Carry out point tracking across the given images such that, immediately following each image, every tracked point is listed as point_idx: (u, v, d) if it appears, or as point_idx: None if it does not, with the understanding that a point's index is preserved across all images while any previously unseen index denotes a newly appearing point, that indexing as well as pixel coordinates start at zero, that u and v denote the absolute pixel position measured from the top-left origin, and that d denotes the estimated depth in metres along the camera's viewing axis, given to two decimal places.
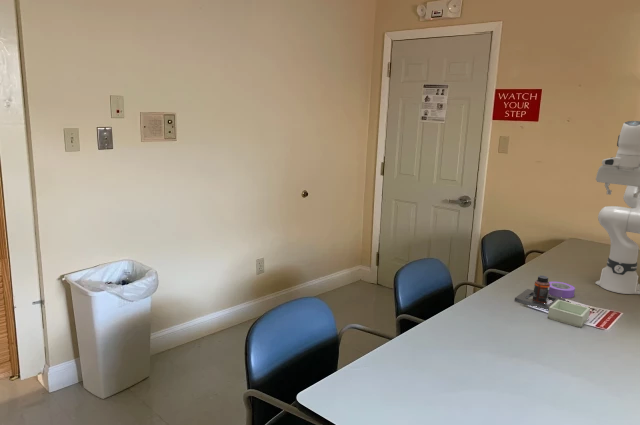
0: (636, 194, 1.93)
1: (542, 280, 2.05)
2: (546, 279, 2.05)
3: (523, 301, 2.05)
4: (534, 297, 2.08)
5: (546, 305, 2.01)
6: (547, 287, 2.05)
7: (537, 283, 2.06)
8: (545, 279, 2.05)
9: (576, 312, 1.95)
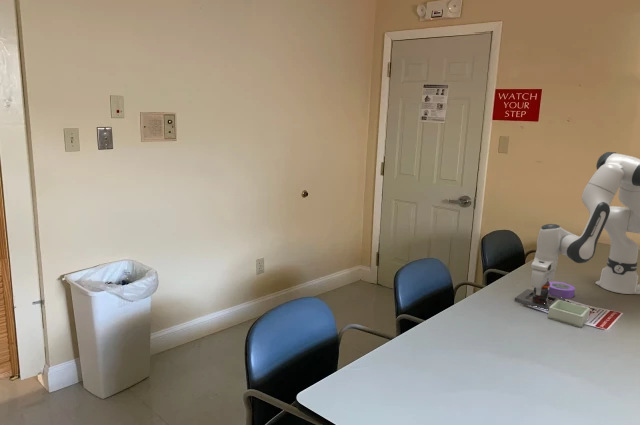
0: None
1: None
2: None
3: (523, 301, 2.05)
4: (534, 297, 2.08)
5: (546, 305, 2.01)
6: (547, 287, 2.05)
7: None
8: None
9: (576, 312, 1.95)
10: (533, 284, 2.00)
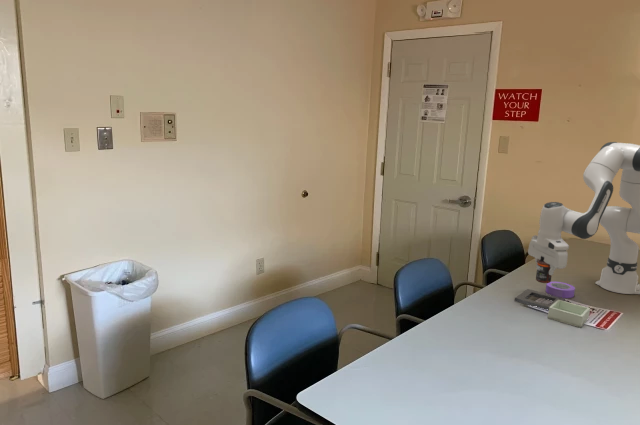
0: None
1: None
2: None
3: (523, 301, 2.05)
4: (543, 278, 2.05)
5: (546, 305, 2.01)
6: None
7: (546, 264, 2.03)
8: None
9: (576, 312, 1.95)
10: (561, 266, 1.96)
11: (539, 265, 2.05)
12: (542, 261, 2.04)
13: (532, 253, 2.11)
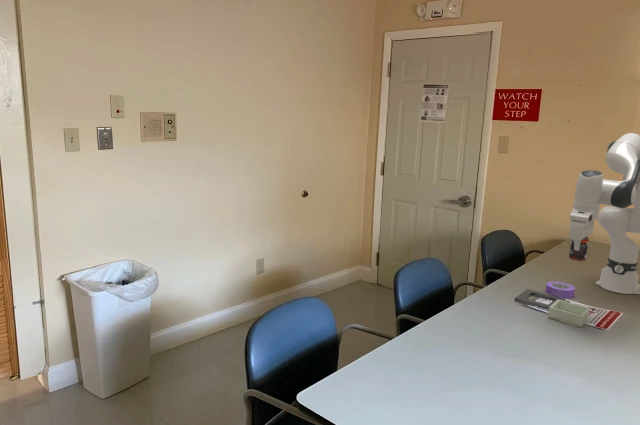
0: None
1: None
2: None
3: (523, 301, 2.05)
4: (571, 254, 1.87)
5: (546, 305, 2.01)
6: (586, 242, 1.84)
7: None
8: None
9: (576, 312, 1.95)
10: (572, 237, 1.79)
11: None
12: None
13: None
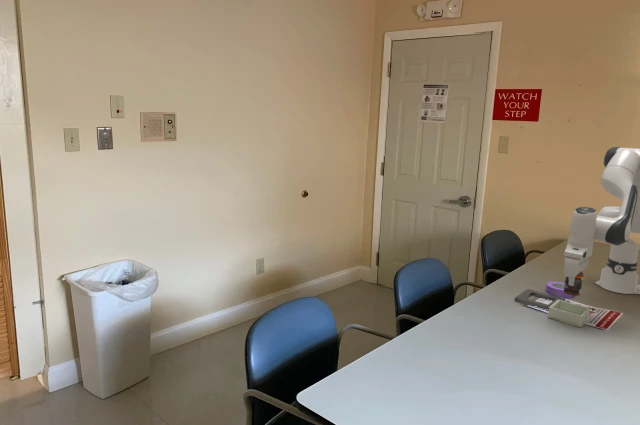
0: None
1: None
2: None
3: (523, 301, 2.05)
4: (566, 289, 1.89)
5: (546, 305, 2.01)
6: (580, 277, 1.86)
7: None
8: None
9: (576, 312, 1.95)
10: (566, 274, 1.81)
11: None
12: None
13: None
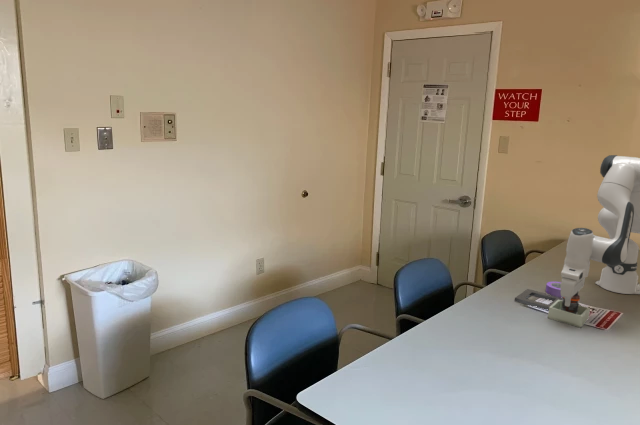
0: None
1: None
2: None
3: (523, 301, 2.05)
4: None
5: (546, 305, 2.01)
6: (577, 300, 1.89)
7: None
8: None
9: None
10: (563, 294, 1.83)
11: None
12: None
13: None
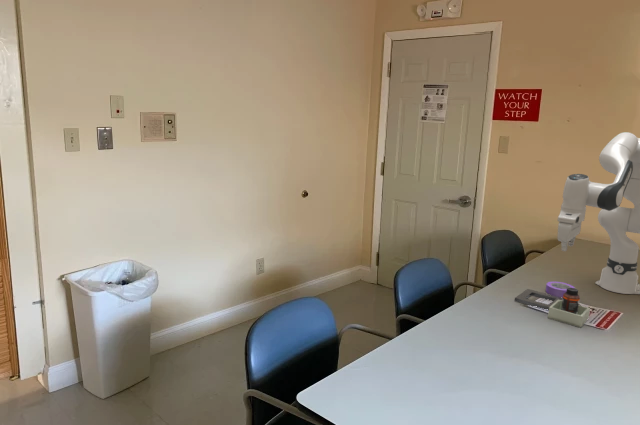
0: (573, 242, 1.98)
1: (571, 293, 1.89)
2: (576, 292, 1.89)
3: (523, 301, 2.05)
4: None
5: (546, 305, 2.01)
6: (577, 300, 1.89)
7: (566, 296, 1.90)
8: (575, 292, 1.89)
9: None
10: (560, 238, 1.87)
11: (563, 296, 1.93)
12: None
13: None
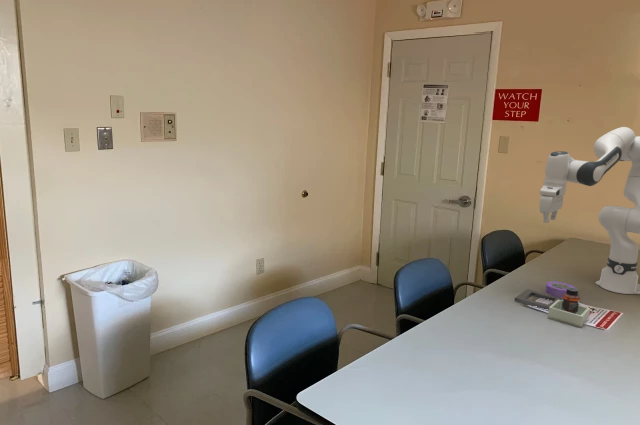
0: (555, 216, 2.13)
1: (572, 293, 1.89)
2: (576, 292, 1.89)
3: (523, 301, 2.05)
4: None
5: (546, 305, 2.01)
6: (577, 300, 1.89)
7: (566, 296, 1.90)
8: (575, 292, 1.89)
9: None
10: (541, 210, 2.02)
11: (563, 296, 1.93)
12: None
13: None
